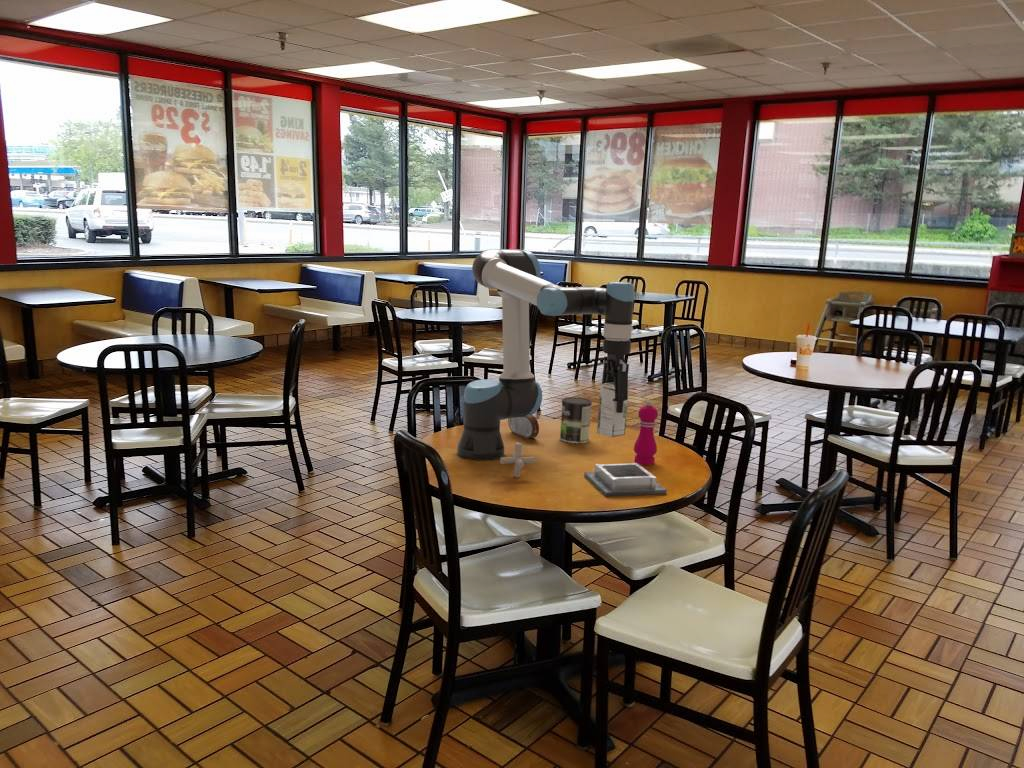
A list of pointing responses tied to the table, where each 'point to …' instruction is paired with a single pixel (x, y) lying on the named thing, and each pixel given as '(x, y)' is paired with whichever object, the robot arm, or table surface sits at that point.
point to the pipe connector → (517, 459)
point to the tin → (524, 426)
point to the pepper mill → (646, 435)
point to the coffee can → (575, 420)
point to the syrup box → (609, 412)
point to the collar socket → (624, 480)
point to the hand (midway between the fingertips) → (612, 420)
